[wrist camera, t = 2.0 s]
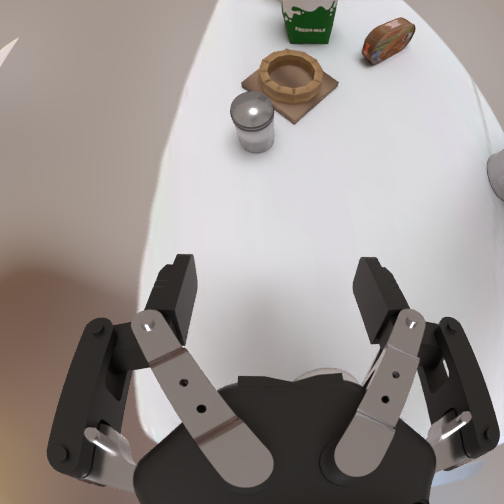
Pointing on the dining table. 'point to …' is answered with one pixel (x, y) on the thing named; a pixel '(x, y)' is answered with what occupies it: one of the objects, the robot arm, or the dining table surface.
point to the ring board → (291, 82)
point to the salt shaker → (254, 120)
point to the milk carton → (309, 20)
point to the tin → (387, 40)
